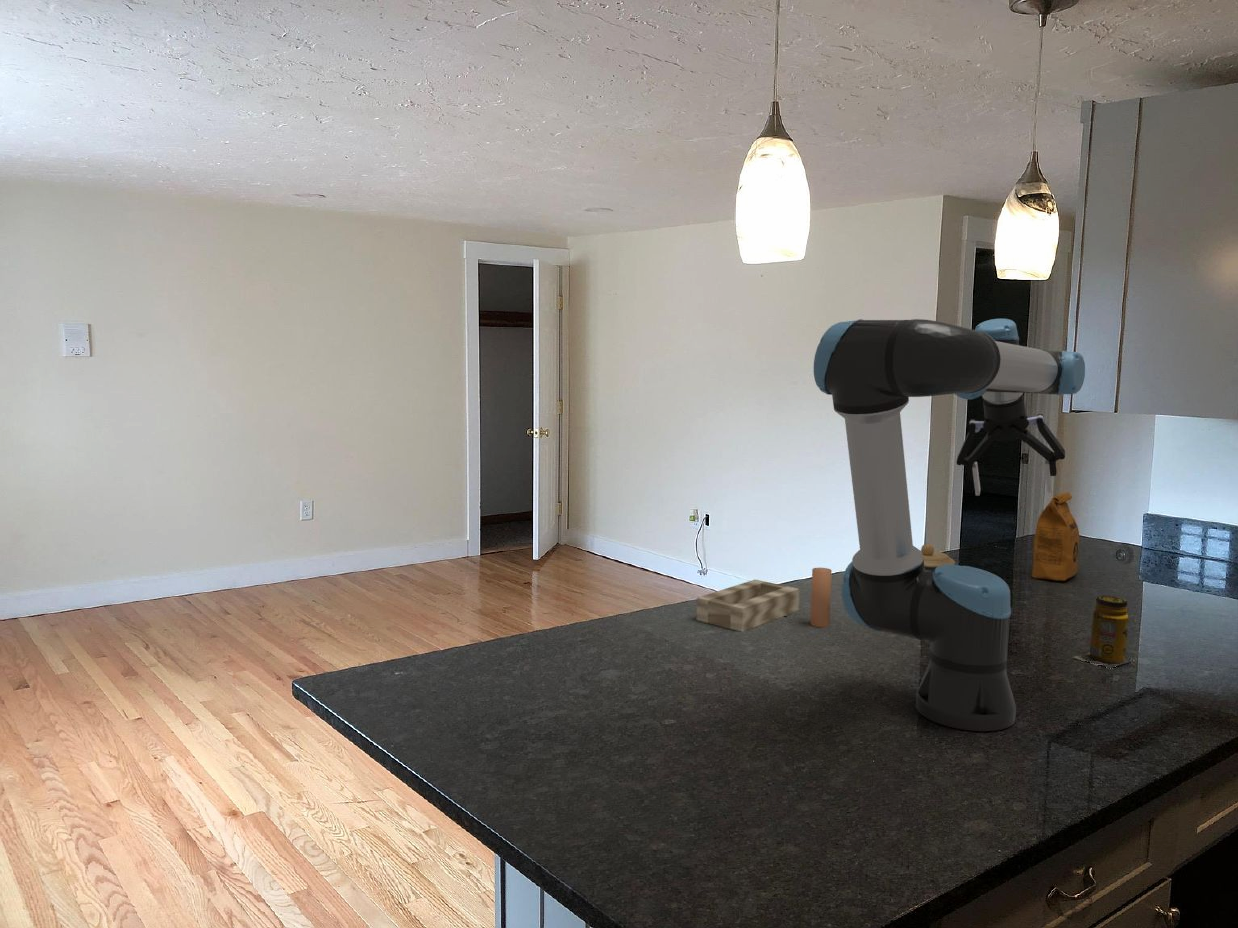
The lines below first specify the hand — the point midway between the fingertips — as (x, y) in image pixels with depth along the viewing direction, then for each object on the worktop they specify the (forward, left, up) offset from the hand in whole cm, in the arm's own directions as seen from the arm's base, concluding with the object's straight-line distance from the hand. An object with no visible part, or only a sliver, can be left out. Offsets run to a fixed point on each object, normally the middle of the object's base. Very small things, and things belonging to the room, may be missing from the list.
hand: (1013, 491), depth 188 cm
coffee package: (+56, +8, -30) cm, 64 cm away
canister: (-7, +15, -30) cm, 34 cm away
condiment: (-5, -20, -30) cm, 37 cm away
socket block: (-28, +46, -30) cm, 61 cm away
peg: (-23, +31, -30) cm, 48 cm away
